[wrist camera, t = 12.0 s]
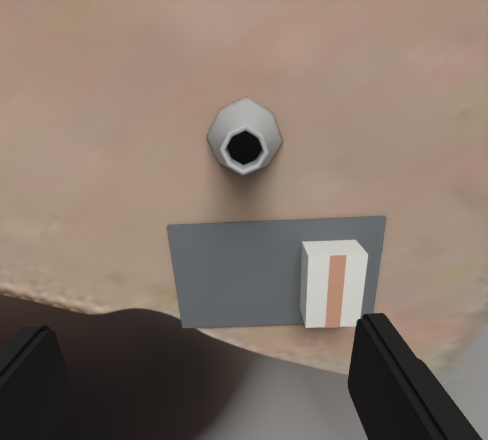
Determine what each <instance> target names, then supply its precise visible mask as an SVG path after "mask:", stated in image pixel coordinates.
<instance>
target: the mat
mask: <svg viewBox="0 0 488 440" xmlns="http://www.w3.org/2000/svg"><path fill="white" fill-rule="evenodd" d="M385 224H386V217H385V216H371V217H347V218H323V219H299V220H275V221H251V222H227V223H203V224H179V225H168V226H167V229H168V236H169V243H170V249H171V256H172V262H173V269H174V275H175V282H176V289H177V295H178V302H179V308H180V315H181V321H182V328H203V327H232V326H261V325H290V324H304V321H303V317H302V313H301V310H300V290H301V259H302V242H307V241H334V240H356V241H357V242H358V243H359V244H360V245H361V246H362V248H363V249H364V250H365V251H366V252H367V253H368V261H367V269H366V277H365V285H364V293H363V301H362V309H361V317H360V319H362V316H363V314H373V311H374V304H375V297H376V289H377V282H378V275H379V268H380V260H381V253H382V246H383V239H384V231H385Z"/></svg>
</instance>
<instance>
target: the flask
mask: <svg viewBox="0 0 488 440" xmlns="http://www.w3.org/2000/svg"><path fill="white" fill-rule="evenodd" d="M206 136H207V138H208V140H209V143H210V145H211V147H212V149H213V152H214V154H215V156H216V158H217V160H218V162H219V163H220V164H222V165H224V166H226V167H227V168H229V169H231V170H233V171H234V172H236V173H238V174H240V175H241V176H244V175H247V174H249V173H251V172H254V171H256V170H259V169H261V168H263V167H266V166H268V165H269V163H270V162H271V160H272V158H273V157H274V155H275V153H276V152H277V150H278V148H279V147H280V145H281V143H282V142H283V139H282V136H281V133H280V130H279V128H278V125H277V122H276V119H275V117H274V114H273V112H271V111H270V110H268V109H267V108H265V107H263V106H262V105H260V104H259V103H257V102H256V101H254V100H252V99H251V98H249V97H248V96H247V97H245V98H243V99H241V100H238V101H236V102H234V103H232V104H230V105H228V106H225V107H223V108H221V109H220V110H219V112H218V114H217V116H216V118H215V120H214V122H213V124H212V126H211V127H210V129H209V131H208V133H207V135H206Z"/></svg>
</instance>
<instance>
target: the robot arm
mask: <svg viewBox="0 0 488 440" xmlns="http://www.w3.org/2000/svg"><path fill="white" fill-rule="evenodd" d="M348 389H349V393H350V396H351V398H352V401H353V403H354V406H355V408H356V411H357V413H358V415H359V418H360V420H361V423H362V425H363V428H364V430H365V433H366V435H367V438H368V440H482V439H481V437H480V436H479V435H478V433H477V432H476V431H475V429H474V428H473V427H472V425H471V424H470V423H469V422H468V420H467V419H466V417H465V416H464V415H463V413H462V412H461V411H460V409H459V408H458V407H457V405H456V404H455V403H454V401H453V400H452V399H451V397H450V396H449V395H448V394H447V392H446V391H445V389H444V388H443V387H442V385H441V384H440V383H439V381H438V380H437V379H436V377H435V376H434V375H433V373H432V372H431V371H430V369H429V368H428V367H427V365H426V364H425V363H424V362H423V361H422V360H420V359H418V358H417V357H416V356H415V354H414V353H413V352H412V350H411V349H410V348H409V346H408V345H407V344H406V342H405V341H404V340H403V338H402V337H401V335H400V334H399V333H398V331H397V330H396V329H395V327H394V326H393V325H392V323H391V322H390V321H389V319H388V318H387V317H386V315H385V314H383V313H374V314H363V316H362V319H358V320H357V323H356V330H355V336H354V343H353V350H352V356H351V363H350V370H349V377H348ZM73 401H74V391H73V388H72V384H71V381H70V378H69V375H68V372H67V369H66V365H65V362H64V359H63V356H62V353H61V350H60V347H59V344H58V340H57V337H56V334H55V332H54V331H53V330H50V328H49V327H48V326H44V325H43V326H26V327H23V328H22V329H21V330H20V331H19V332H18V333H17V334H16V335H15V336H14V337H13V338H12V339H11V340H10V341H9V342H8V343H7V344H6V345H5V346H4V347H3V348H2V349H1V350H0V440H53V439H54V437H55V436H56V434H57V432H58V430H59V428H60V426H61V425H62V423H63V421H64V419H65V417H66V416H67V414H68V412H69V410H70V408H71V406H72V404H73Z"/></svg>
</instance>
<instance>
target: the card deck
mask: <svg viewBox="0 0 488 440" xmlns="http://www.w3.org/2000/svg"><path fill="white" fill-rule="evenodd" d="M367 261H368V253H367V252H366V251H365V250H364V249H363V248H362V246H361V245H360V244H359V243H358V242H357V241H356V240H334V241H307V242H302V259H301V290H300V310H301V313H302V317H303V321H304V324H305V328H315V327H325V328H335V327H347V326H356V323H357V320H358V319H360V317H361V309H362V301H363V293H364V285H365V277H366V269H367Z"/></svg>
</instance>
